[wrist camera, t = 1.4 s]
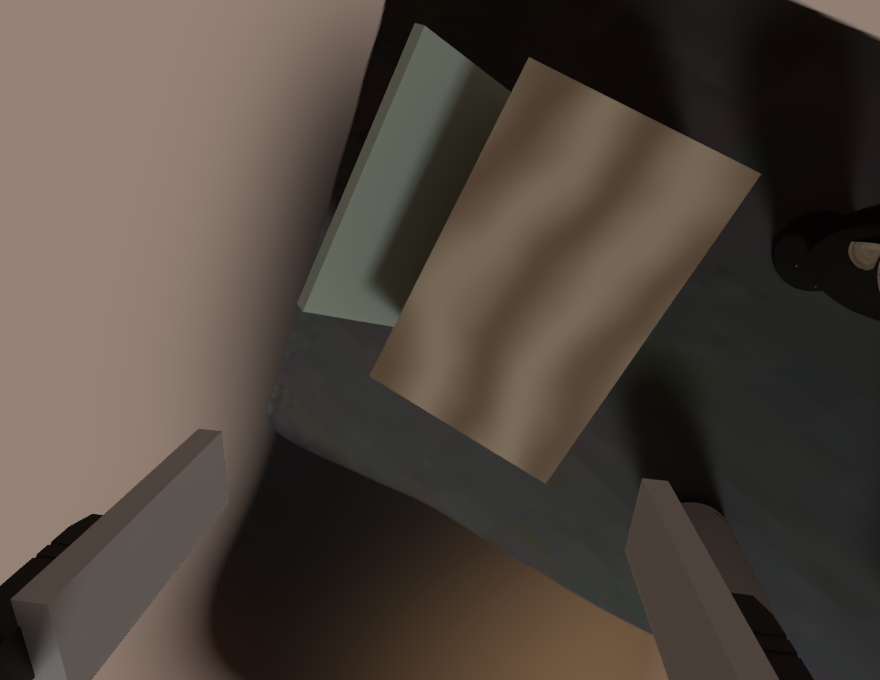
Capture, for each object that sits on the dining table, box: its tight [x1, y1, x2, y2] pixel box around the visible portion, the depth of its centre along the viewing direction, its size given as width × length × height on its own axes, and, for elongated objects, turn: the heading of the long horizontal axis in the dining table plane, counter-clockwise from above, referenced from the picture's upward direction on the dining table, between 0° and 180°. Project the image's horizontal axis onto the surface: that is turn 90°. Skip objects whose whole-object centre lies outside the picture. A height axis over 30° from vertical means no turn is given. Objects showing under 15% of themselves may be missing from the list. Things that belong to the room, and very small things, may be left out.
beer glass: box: [773, 204, 880, 321], centre depth 31 cm, size 7×7×15 cm
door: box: [297, 23, 511, 327], centre depth 39 cm, size 2×21×12 cm
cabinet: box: [370, 57, 761, 484], centre depth 37 cm, size 14×22×14 cm, turn 152°
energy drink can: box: [681, 502, 780, 625], centre depth 38 cm, size 6×6×15 cm
